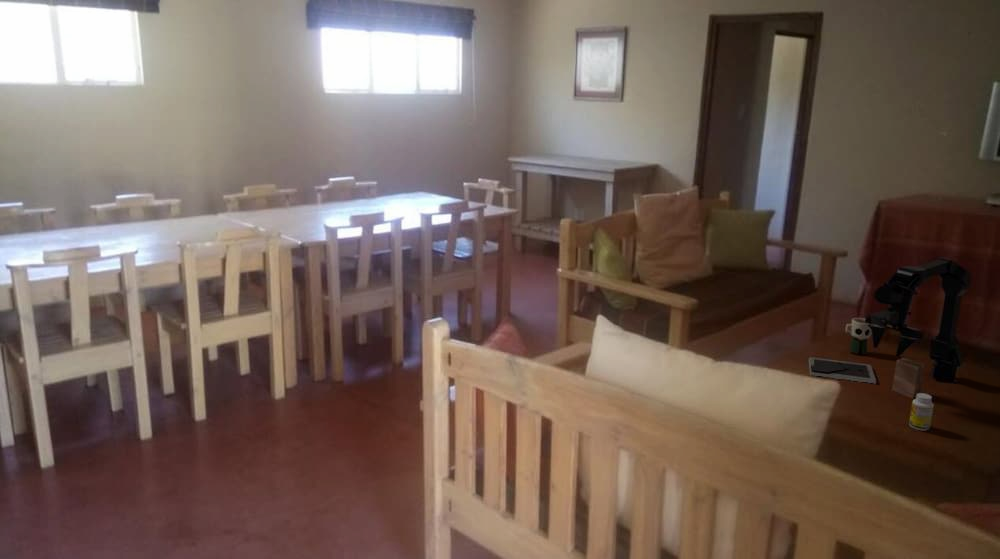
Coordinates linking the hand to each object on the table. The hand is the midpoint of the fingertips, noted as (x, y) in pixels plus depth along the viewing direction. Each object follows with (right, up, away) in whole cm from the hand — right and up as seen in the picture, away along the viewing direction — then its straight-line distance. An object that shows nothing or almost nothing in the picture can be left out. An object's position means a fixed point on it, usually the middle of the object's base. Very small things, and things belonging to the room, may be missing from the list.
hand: (885, 352), depth 241 cm
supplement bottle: (0, -21, -19) cm, 29 cm away
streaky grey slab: (+9, -14, +5) cm, 18 cm away
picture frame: (-4, -10, +23) cm, 26 cm away
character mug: (+11, -5, +42) cm, 44 cm away
